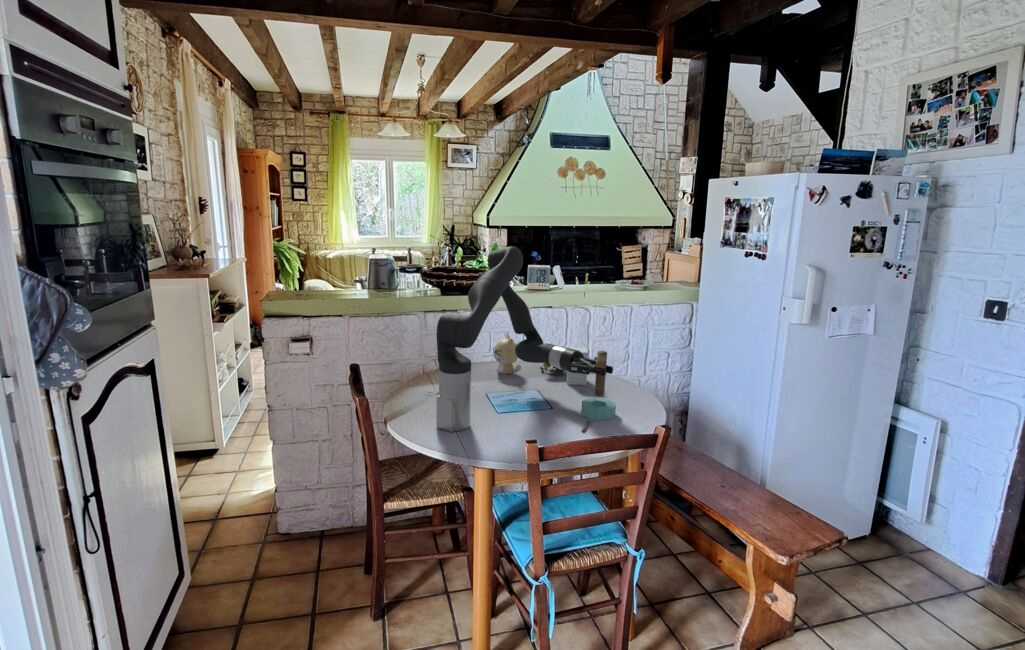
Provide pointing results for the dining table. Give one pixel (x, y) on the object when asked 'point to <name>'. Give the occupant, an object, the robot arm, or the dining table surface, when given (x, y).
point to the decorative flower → (549, 367)
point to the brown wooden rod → (599, 378)
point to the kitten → (506, 355)
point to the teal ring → (598, 408)
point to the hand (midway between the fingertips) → (608, 371)
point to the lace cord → (585, 426)
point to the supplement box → (577, 377)
